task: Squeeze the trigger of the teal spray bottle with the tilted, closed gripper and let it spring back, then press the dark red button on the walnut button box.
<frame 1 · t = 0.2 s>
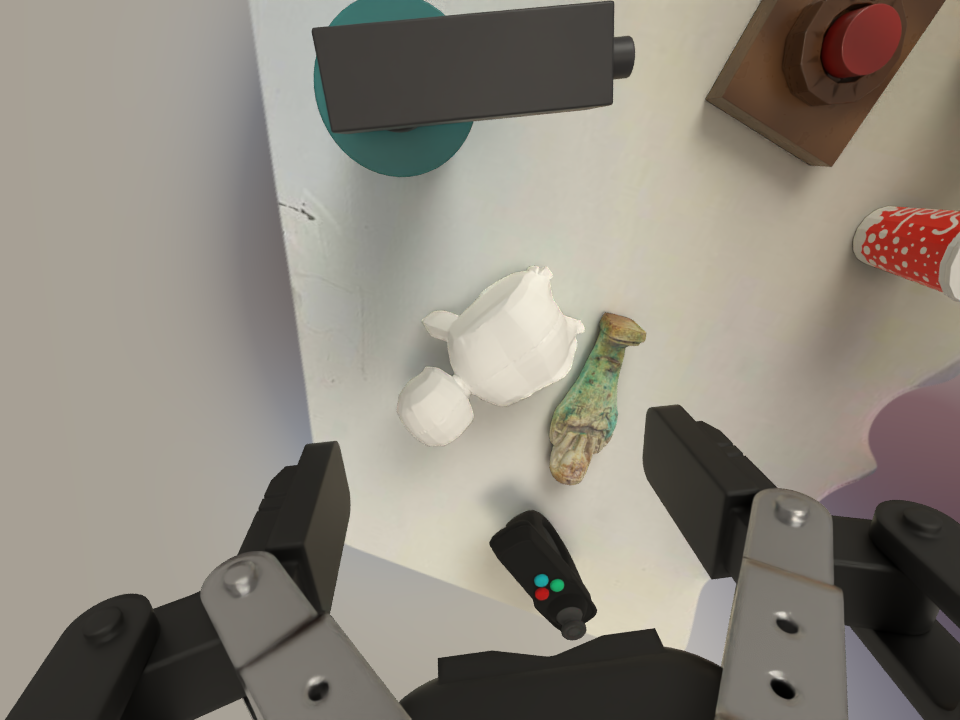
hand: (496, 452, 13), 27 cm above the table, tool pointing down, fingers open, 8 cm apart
button: (860, 42, 30), point 4 cm above the table, slide at 0.1 cm
beverage cup: (878, 235, 40), on the table
button box: (808, 54, 34), on the table
figurine: (584, 392, 44), on the table
spray bottle: (410, 110, 33), on the table
controller: (529, 519, 49), on the table
penguin: (481, 338, 41), on the table
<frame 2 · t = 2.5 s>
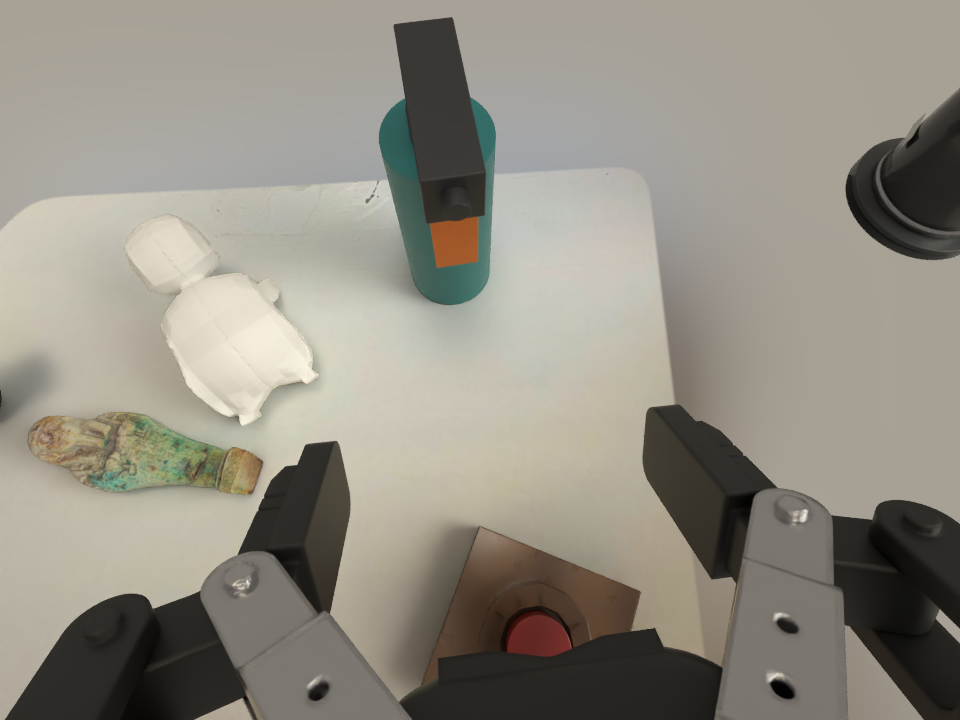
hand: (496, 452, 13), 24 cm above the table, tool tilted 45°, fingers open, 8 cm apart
button: (537, 647, 29), point 4 cm above the table, slide at 0.1 cm
spray trigger: (454, 231, 26), point 14 cm above the table, slide at -0.1 cm
button box: (529, 632, 33), on the table
figurine: (162, 458, 37), on the table
spray bottle: (450, 269, 42), on the table
penguin: (246, 339, 40), on the table
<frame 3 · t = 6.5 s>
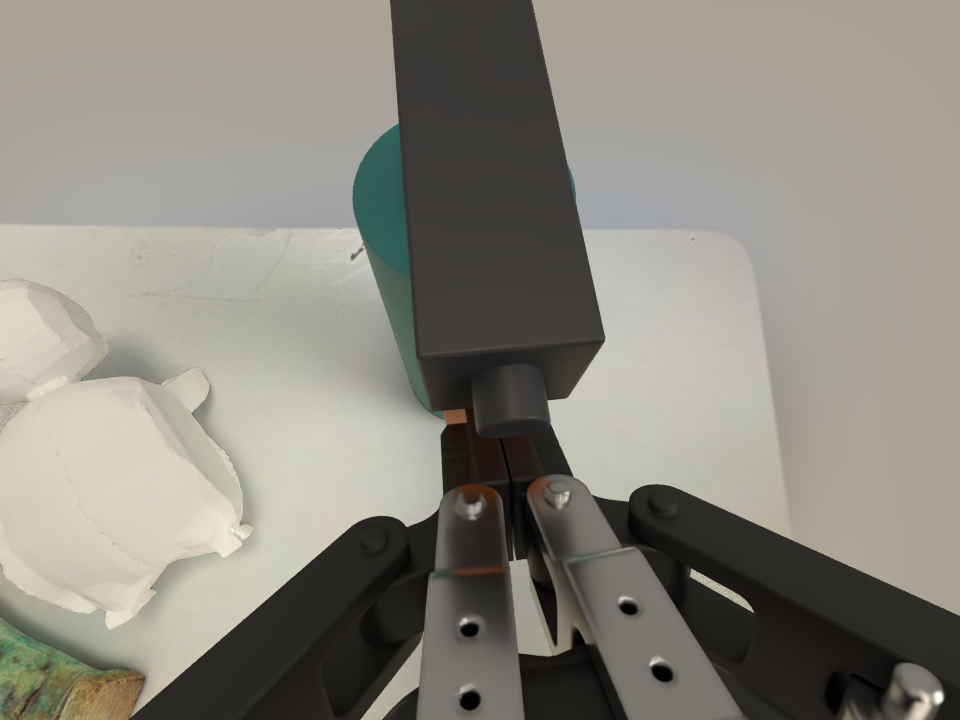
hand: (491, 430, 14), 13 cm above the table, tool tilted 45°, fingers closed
spray trigger: (485, 376, 13), point 14 cm above the table, slide at 0.2 cm, touching gripper
spray bottle: (465, 368, 28), on the table
penguin: (151, 458, 26), on the table
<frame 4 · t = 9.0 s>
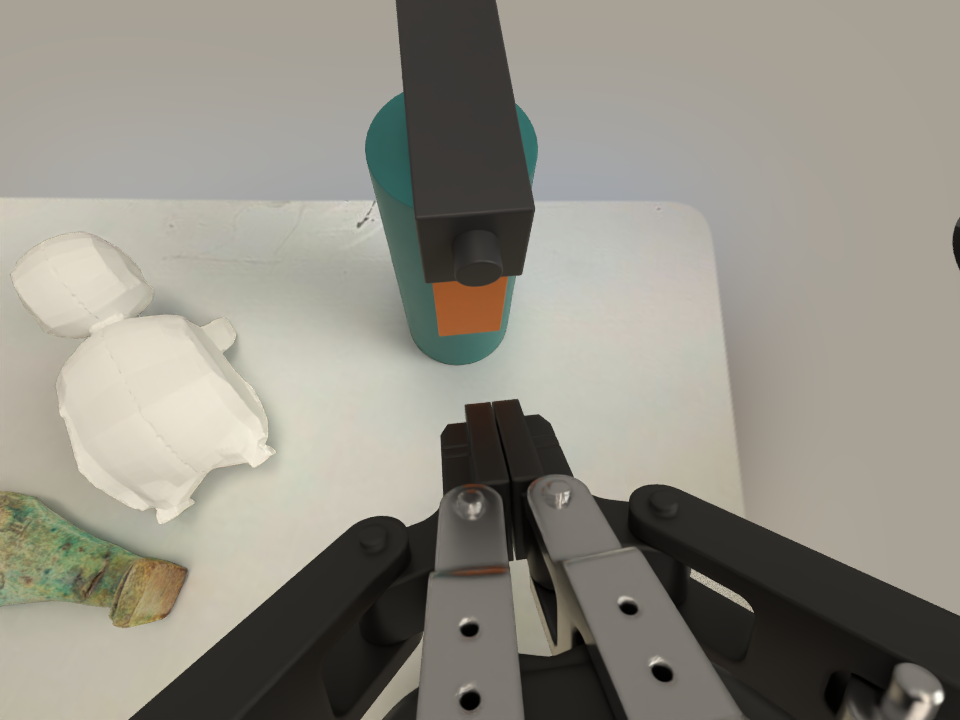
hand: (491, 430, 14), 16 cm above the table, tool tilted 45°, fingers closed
spray trigger: (468, 289, 17), point 14 cm above the table, slide at -0.1 cm
figurine: (55, 555, 27), on the table
spray bottle: (458, 319, 33), on the table
penguin: (187, 394, 30), on the table
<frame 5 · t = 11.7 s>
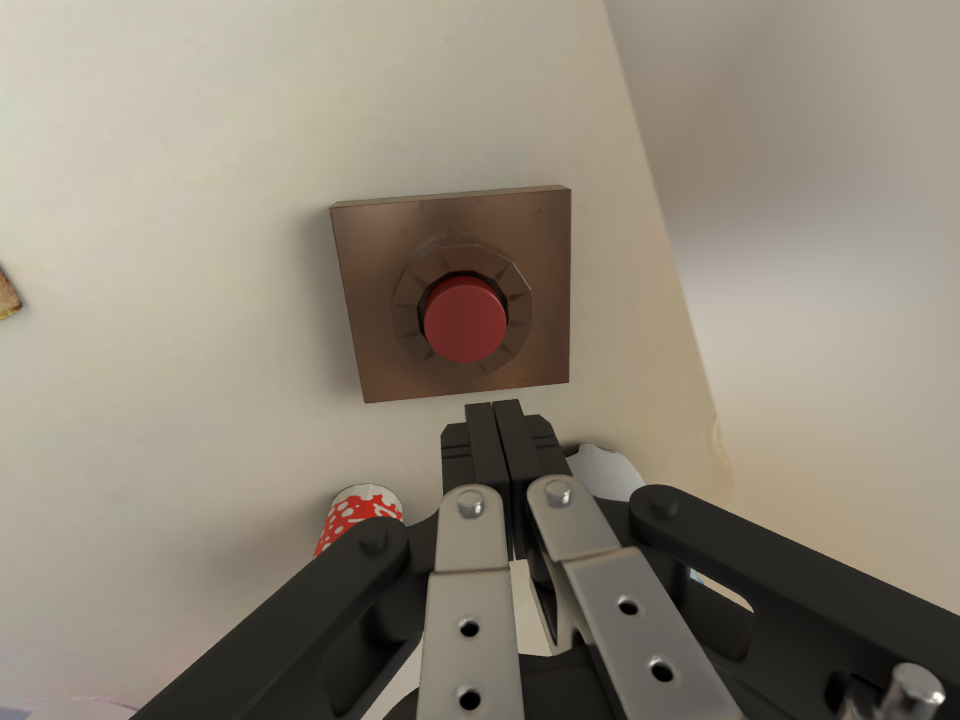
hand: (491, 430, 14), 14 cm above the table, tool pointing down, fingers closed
button: (464, 319, 23), point 4 cm above the table, slide at 0.1 cm
beverage cup: (367, 511, 32), on the table
button box: (458, 291, 27), on the table
bottle: (581, 473, 33), on the table
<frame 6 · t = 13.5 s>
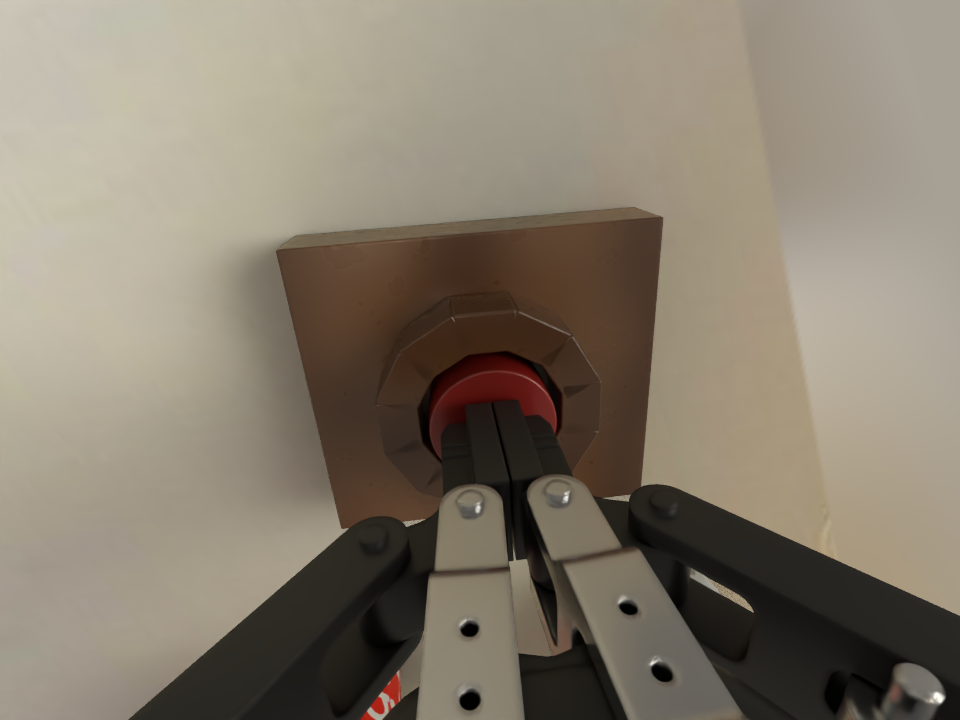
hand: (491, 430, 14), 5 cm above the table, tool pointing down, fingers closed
button: (490, 413, 15), point 4 cm above the table, slide at -0.7 cm, touching gripper
beverage cup: (351, 643, 24), on the table
button box: (478, 362, 18), on the table
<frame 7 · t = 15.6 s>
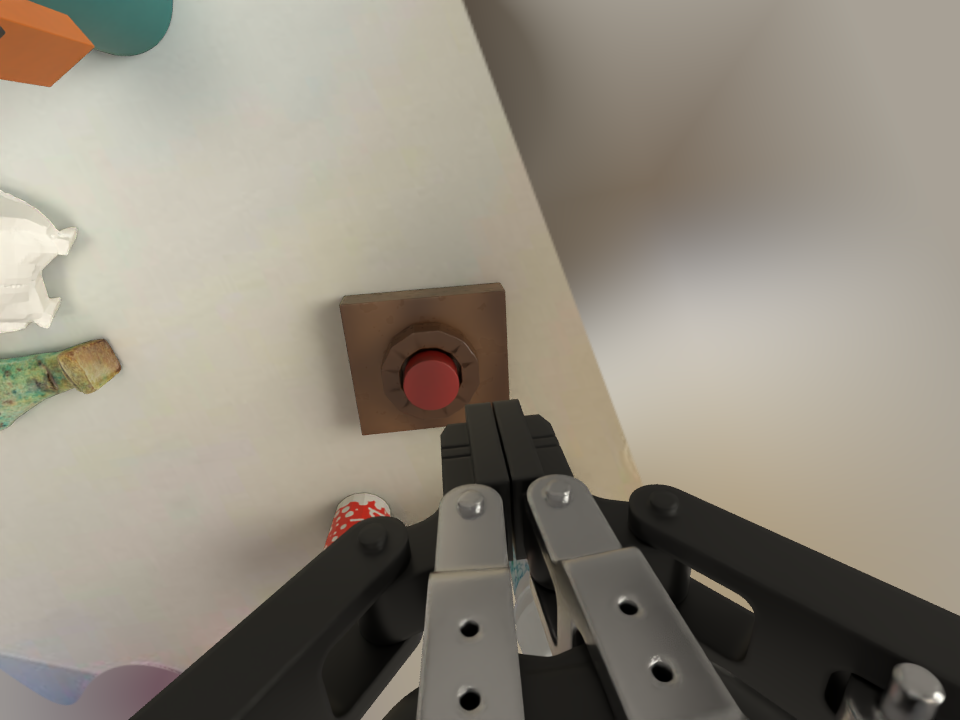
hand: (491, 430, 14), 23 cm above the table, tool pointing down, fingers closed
button: (431, 380, 33), point 4 cm above the table, slide at 0.1 cm
spray trigger: (7, 38, 16), point 14 cm above the table, slide at -0.1 cm
beverage cup: (363, 513, 42), on the table
button box: (430, 354, 37), on the table
bottle: (526, 484, 43), on the table
figurine: (13, 378, 35), on the table
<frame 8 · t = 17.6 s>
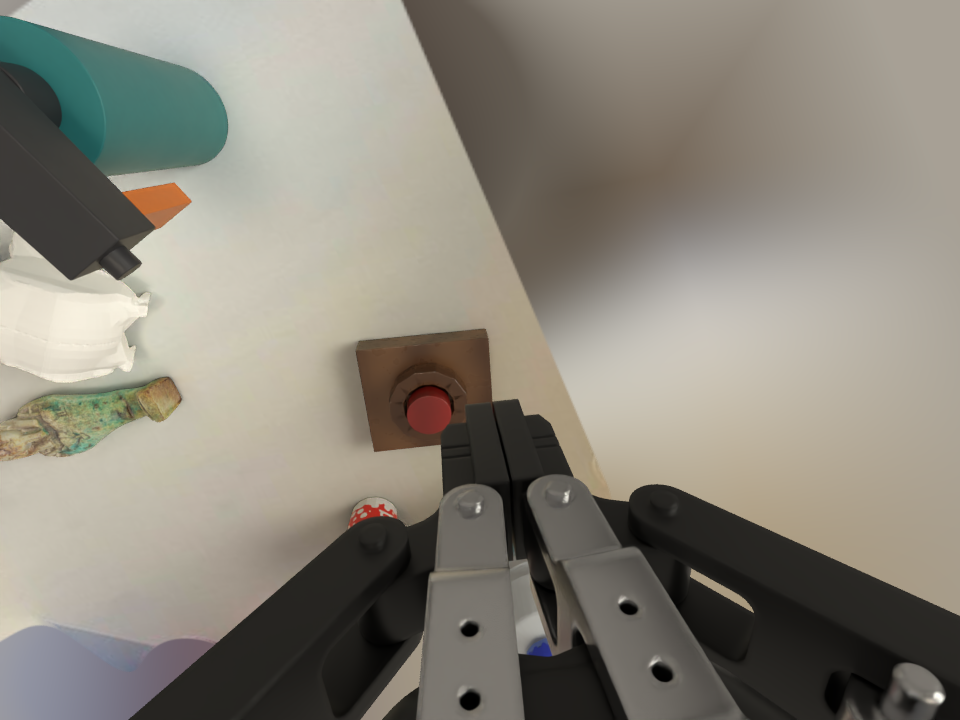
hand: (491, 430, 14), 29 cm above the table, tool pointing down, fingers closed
button: (429, 410, 41), point 4 cm above the table, slide at 0.1 cm
spray trigger: (143, 211, 24), point 14 cm above the table, slide at -0.1 cm
beverage cup: (375, 514, 51), on the table
button box: (428, 385, 46), on the table
bottle: (510, 490, 51), on the table
figurine: (96, 407, 43), on the table
spray bottle: (179, 116, 35), on the table
penguin: (58, 291, 39), on the table
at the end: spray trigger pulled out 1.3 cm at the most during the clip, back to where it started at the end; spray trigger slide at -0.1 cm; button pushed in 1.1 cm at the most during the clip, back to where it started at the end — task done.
